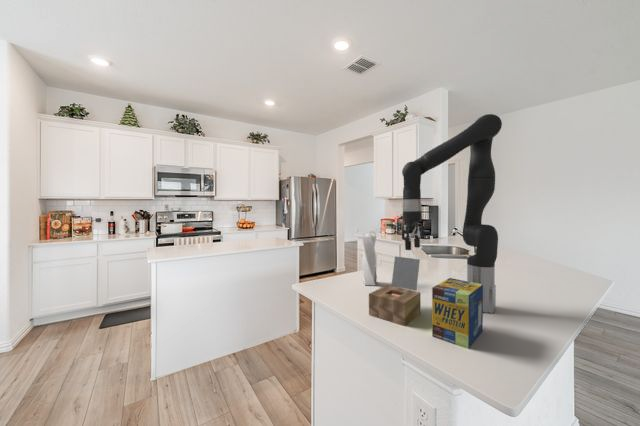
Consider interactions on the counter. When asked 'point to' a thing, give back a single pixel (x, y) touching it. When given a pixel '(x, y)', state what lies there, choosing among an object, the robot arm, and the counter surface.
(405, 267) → the panel
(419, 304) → the hole block
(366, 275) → the skyscraper
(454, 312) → the protein box
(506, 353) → the counter surface
